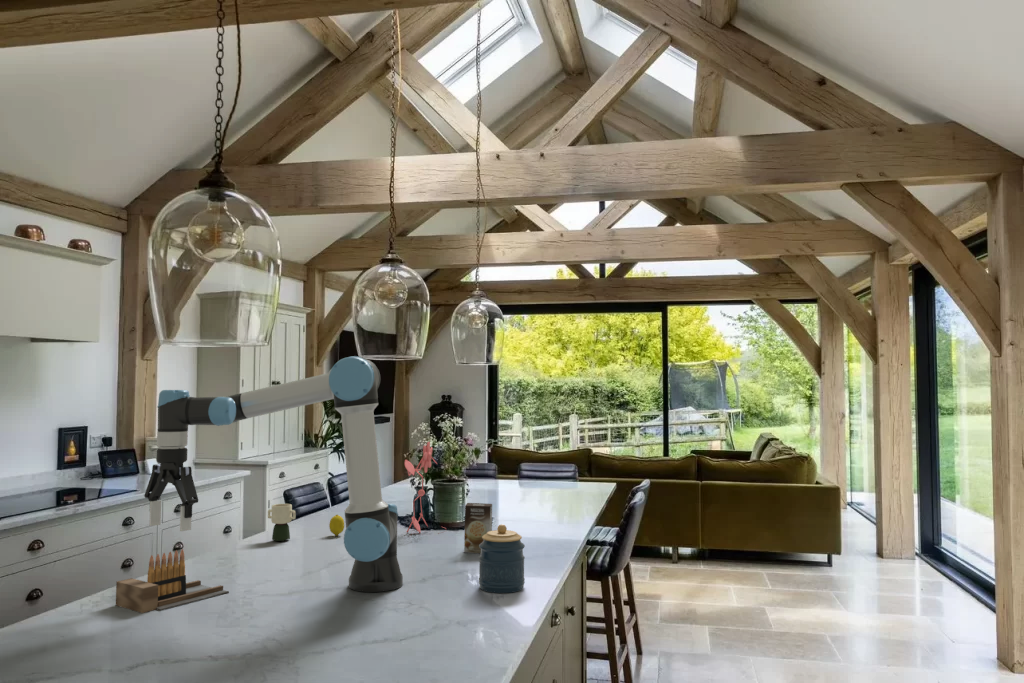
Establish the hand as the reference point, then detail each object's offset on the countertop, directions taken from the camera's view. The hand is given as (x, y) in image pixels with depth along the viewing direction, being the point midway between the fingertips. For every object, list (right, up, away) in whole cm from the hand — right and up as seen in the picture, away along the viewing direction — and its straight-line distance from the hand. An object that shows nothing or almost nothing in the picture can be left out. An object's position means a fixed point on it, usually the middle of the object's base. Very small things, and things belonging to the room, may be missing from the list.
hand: (169, 527), depth 200 cm
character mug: (+6, -24, +75) cm, 79 cm away
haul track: (0, -19, 0) cm, 19 cm away
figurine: (+58, -25, +96) cm, 115 cm away
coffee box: (+79, -23, +59) cm, 102 cm away
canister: (+88, -20, +12) cm, 91 cm away
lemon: (+24, -24, +85) cm, 92 cm away
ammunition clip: (0, -18, -1) cm, 19 cm away
